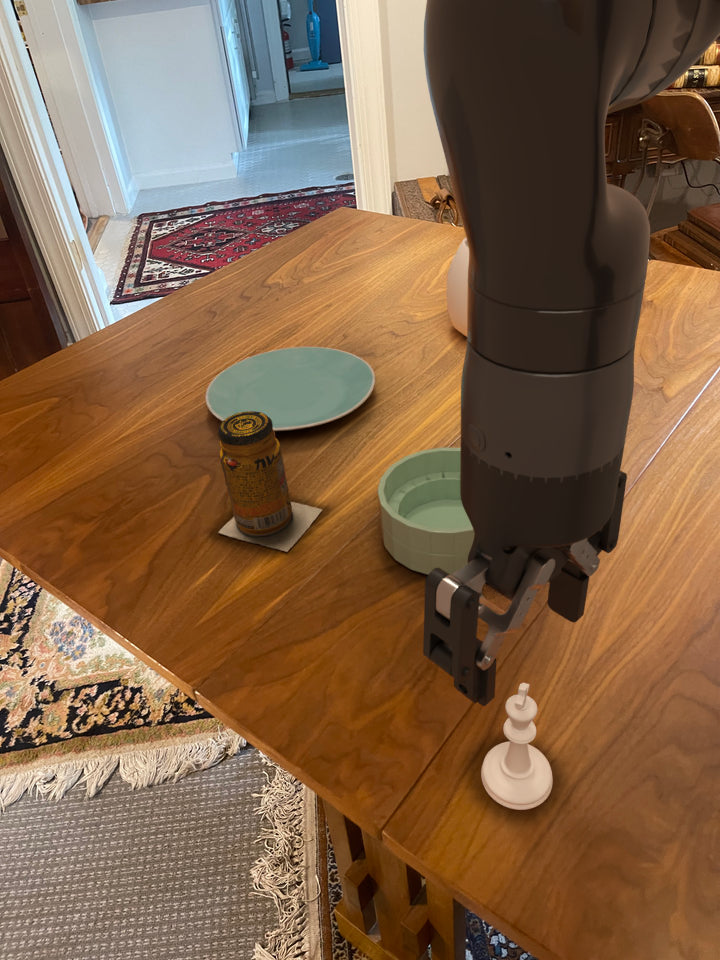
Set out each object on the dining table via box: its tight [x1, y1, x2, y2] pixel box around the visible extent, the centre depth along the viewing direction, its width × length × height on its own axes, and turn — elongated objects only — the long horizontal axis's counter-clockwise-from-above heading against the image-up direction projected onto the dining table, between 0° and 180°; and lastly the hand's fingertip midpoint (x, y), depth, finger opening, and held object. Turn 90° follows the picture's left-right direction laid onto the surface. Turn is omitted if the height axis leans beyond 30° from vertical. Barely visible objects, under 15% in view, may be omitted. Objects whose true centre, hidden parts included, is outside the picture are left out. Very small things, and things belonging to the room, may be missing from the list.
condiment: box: [217, 411, 323, 553], centre depth 73 cm, size 7×8×12 cm
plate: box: [204, 346, 376, 432], centre depth 96 cm, size 22×22×3 cm
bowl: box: [376, 446, 475, 576], centre depth 71 cm, size 13×13×6 cm
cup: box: [445, 237, 469, 338], centre depth 104 cm, size 13×13×14 cm
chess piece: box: [480, 682, 554, 811], centre depth 49 cm, size 5×5×10 cm
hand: (522, 651), depth 44 cm, fingers open, 8 cm apart
